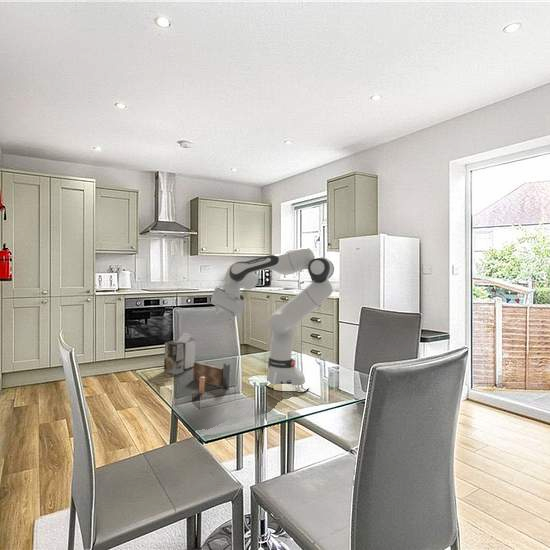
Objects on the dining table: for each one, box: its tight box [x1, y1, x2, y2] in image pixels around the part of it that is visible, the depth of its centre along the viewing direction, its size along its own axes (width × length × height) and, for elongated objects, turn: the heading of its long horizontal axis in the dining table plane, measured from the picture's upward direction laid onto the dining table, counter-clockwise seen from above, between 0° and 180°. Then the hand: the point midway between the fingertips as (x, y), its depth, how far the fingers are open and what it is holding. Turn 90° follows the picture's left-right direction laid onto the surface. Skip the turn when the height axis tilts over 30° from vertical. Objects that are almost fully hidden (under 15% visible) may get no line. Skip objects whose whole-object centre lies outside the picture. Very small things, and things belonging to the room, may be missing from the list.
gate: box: [192, 361, 223, 388], centre depth 201 cm, size 18×2×9 cm, turn 59°
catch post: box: [198, 377, 206, 395], centre depth 188 cm, size 2×2×7 cm
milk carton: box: [177, 332, 196, 370], centre depth 227 cm, size 7×7×19 cm
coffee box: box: [163, 340, 185, 375], centre depth 216 cm, size 9×6×16 cm
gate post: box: [221, 362, 231, 390], centre depth 196 cm, size 3×3×12 cm
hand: (224, 318), depth 205 cm, fingers open, 8 cm apart
